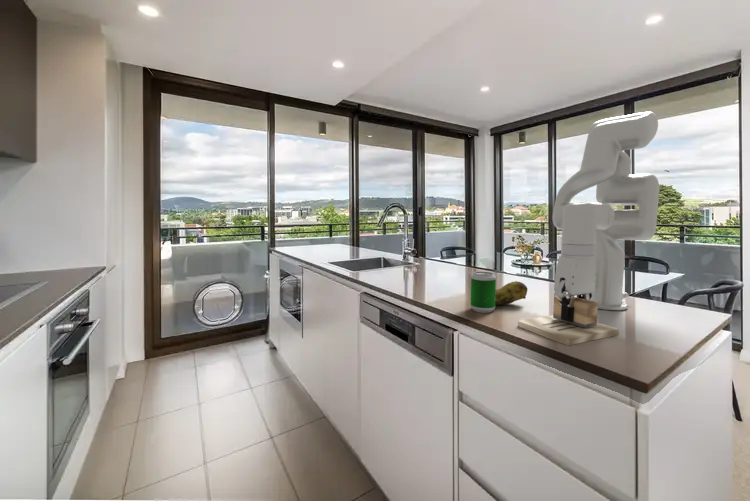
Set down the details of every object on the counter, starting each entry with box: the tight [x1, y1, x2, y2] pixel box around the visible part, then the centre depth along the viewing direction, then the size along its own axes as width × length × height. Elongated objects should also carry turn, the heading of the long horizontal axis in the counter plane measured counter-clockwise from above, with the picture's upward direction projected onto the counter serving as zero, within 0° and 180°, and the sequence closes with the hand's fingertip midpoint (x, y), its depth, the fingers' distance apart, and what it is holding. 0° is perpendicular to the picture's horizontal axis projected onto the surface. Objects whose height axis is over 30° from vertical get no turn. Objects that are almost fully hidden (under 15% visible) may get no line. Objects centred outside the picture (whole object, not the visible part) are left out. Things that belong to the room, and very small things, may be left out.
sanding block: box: [552, 296, 599, 328], centre depth 88 cm, size 4×9×6 cm, turn 23°
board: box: [517, 314, 620, 346], centre depth 88 cm, size 18×15×2 cm
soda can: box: [470, 271, 497, 314], centre depth 107 cm, size 8×8×12 cm
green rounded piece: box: [495, 280, 528, 306], centre depth 113 cm, size 8×13×8 cm, turn 76°
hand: (574, 319), depth 89 cm, fingers closed on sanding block, 4 cm apart
